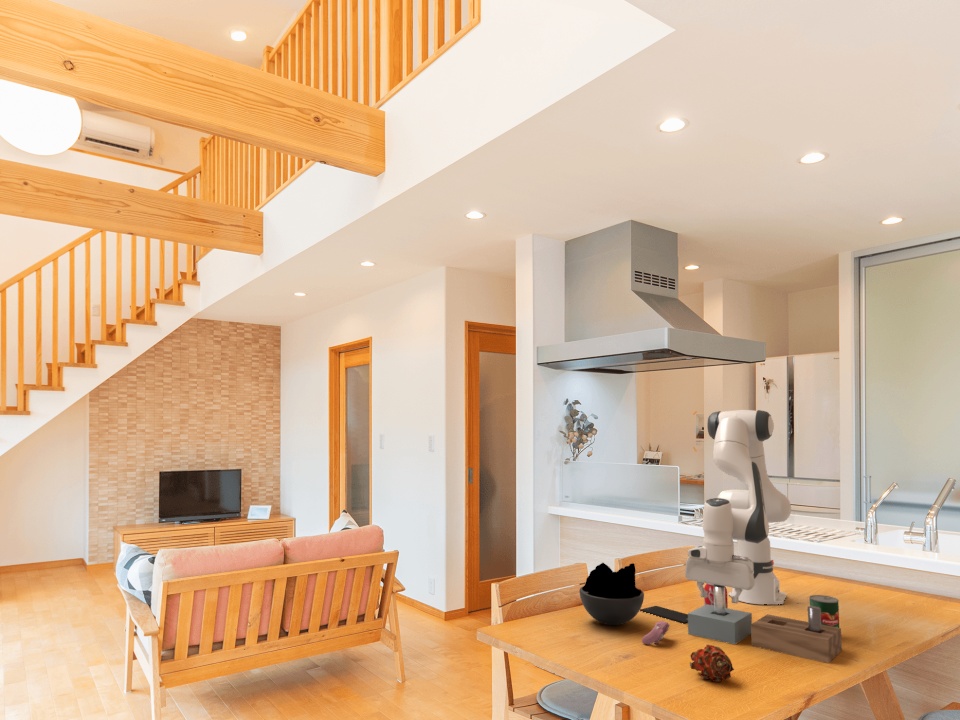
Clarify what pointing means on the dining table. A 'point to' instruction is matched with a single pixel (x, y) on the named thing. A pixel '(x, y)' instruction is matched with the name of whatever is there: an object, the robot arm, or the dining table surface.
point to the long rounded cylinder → (719, 600)
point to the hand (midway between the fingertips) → (719, 599)
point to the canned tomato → (827, 609)
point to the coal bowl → (612, 595)
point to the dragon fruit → (712, 663)
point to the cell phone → (667, 614)
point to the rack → (796, 638)
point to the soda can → (712, 595)
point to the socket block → (720, 624)
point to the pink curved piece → (656, 633)
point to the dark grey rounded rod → (814, 619)
